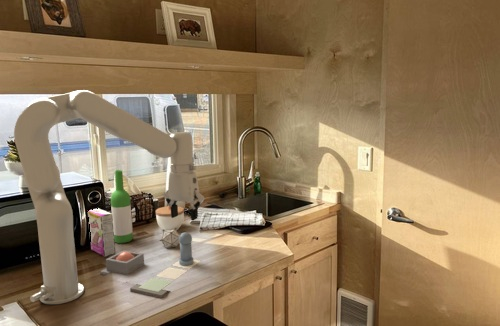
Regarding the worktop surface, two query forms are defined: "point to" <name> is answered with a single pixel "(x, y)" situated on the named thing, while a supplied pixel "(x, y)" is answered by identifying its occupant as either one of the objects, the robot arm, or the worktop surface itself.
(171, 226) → the lidded bowl
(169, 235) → the game die
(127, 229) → the wine bottle
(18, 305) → the worktop surface
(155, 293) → the track board
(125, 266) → the button housing
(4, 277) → the worktop surface
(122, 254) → the dome button
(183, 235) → the pawn
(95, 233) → the candy bar box
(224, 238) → the worktop surface
